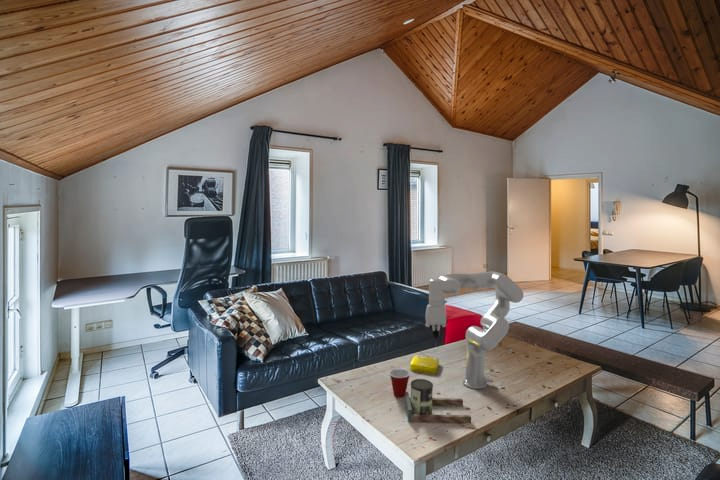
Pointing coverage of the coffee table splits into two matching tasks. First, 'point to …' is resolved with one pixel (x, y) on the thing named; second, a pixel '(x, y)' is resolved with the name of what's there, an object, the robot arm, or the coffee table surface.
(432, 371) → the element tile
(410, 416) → the frame
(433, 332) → the robot arm
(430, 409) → the coffee can
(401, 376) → the plastic cup
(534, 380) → the coffee table surface
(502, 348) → the coffee table surface
